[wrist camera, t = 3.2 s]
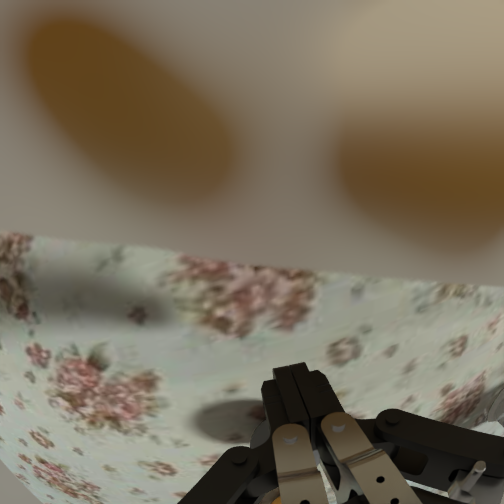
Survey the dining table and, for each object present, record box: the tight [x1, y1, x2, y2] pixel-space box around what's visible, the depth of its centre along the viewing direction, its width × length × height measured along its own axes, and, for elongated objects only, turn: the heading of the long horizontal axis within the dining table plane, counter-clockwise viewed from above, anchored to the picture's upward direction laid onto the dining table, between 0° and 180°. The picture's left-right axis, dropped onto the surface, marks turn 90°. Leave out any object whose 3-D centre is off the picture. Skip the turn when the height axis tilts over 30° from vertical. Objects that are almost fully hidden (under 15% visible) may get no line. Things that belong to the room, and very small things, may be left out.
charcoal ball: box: [250, 420, 320, 466], centre depth 19 cm, size 6×6×6 cm
